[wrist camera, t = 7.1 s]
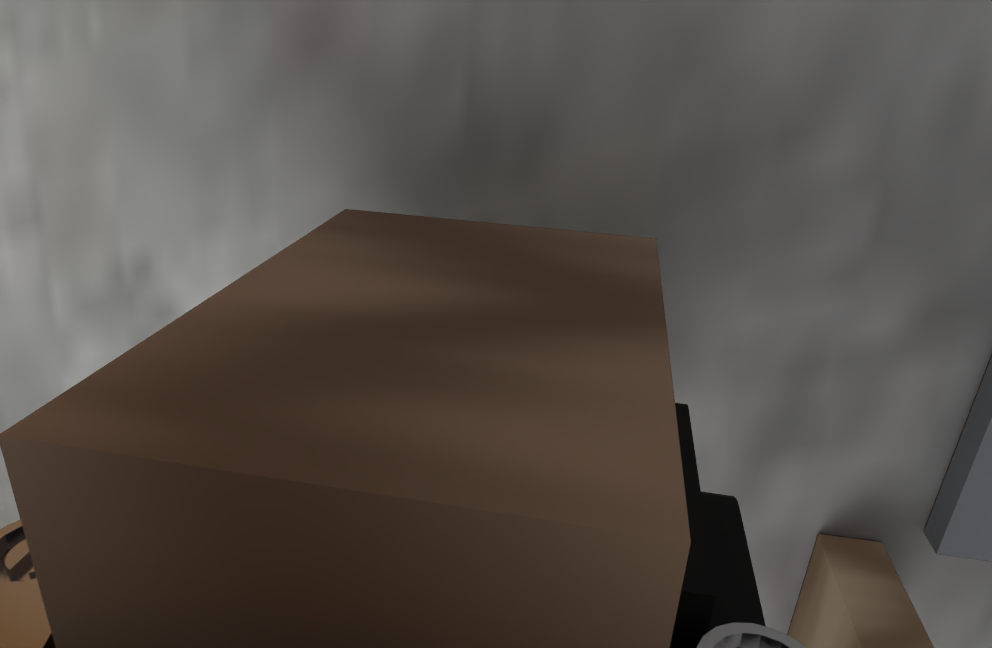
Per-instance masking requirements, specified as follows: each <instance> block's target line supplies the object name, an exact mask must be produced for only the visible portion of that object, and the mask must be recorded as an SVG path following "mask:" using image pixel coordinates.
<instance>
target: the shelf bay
mask: <svg viewBox="0 0 992 648" xmlns="http://www.w3.org/2000/svg"><path fill="white" fill-rule="evenodd" d="M788 636H790V637H792V638H794V639H795V640H796V641H798V642H799V643H800V644H802V645H803V646H805V647H806V648H934V647H933V645H932V643H931V641H930V639H929V637H928V635H927V633H926V631H925V629H924V627H923V625H922V623H921V621H920V619H919V617H918V615H917V613H916V611H915V609H914V606H913V604H912V602H911V600H910V598H909V596H908V594H907V592H906V590H905V588H904V586H903V584H902V582H901V580H900V578H899V576H898V574H897V572H896V570H895V568H894V566H893V564H892V562H891V560H890V558H889V556H888V554H887V552H886V550H885V548H884V546H883V544H882V542H876V541H868V540H861V539H853V538H846V537H838V536H831V535H824V534H818V537H817V540H816V543H815V547H814V550H813V553H812V556H811V560H810V563H809V566H808V570H807V573H806V576H805V579H804V583H803V586H802V589H801V592H800V596H799V599H798V602H797V605H796V609H795V612H794V615H793V619H792V622H791V625H790V628H789V632H788Z"/></svg>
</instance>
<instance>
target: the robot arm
mask: <svg viewBox="0 0 992 648" xmlns="http://www.w3.org/2000/svg"><path fill="white" fill-rule="evenodd" d="M675 408H676V417H677V426H678V434H679V443H680V452H681V460H682V469H683V478H684V487H685V495H686V504H687V513H688V521H689V530H690V539H691V544H690V549H689V554H688V559H687V564H686V569H685V574H684V579H683V584H682V589H681V594H680V599H679V604H678V609H677V614H676V619H675V624H674V629H673V633H672V638H671V643H670V648H806V647H805V646H803V645H802V644H800V643H799V642H798V641H796V640H795V639H794V638H792V637H790V636H788V635H786V634H784V633H781V632H779V631H777V630H775V629H773V628H769V627H766V626H765V622H764V617H763V613H762V608H761V604H760V599H759V595H758V590H757V586H756V581H755V576H754V572H753V567H752V563H751V558H750V554H749V549H748V545H747V540H746V536H745V531H744V527H743V522H742V518H741V513H740V509H739V505H738V502H737V499H736V498H735V497H734V496H727V495H721V494H714V493H707V492H701V491H700V484H699V477H698V471H697V464H696V457H695V450H694V443H693V436H692V430H691V423H690V416H689V409H688V405H687V404H680V403H675ZM0 648H56V647H55V643H54V640H53V636H52V632H51V629H50V625H49V621H48V618H47V614H46V611H45V607H44V603H43V600H42V596H41V592H40V589H39V585H38V581H37V578H36V574H35V570H34V567H33V563H32V559H31V556H30V552H29V548H28V545H27V541H26V537H25V534H24V530H23V526H22V523H21V520H18V521H16V522H14V523H12V524H9V525H7V526H5V527H3V528H2V529H0Z"/></svg>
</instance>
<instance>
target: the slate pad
mask: <svg viewBox="0 0 992 648" xmlns="http://www.w3.org/2000/svg"><path fill="white" fill-rule="evenodd" d="M924 533H925V535H926V537H927V539H928V540H929V542H930V544H931V545H932V547H933V549H934V551H935V552H936V554H940V555H947V556H955V557H962V558H970V559H977V560H985V561H992V357H991V360H990V362H989V365H988V367H987V370H986V373H985V375H984V378H983V380H982V383H981V385H980V388H979V391H978V393H977V396H976V398H975V401H974V404H973V406H972V409H971V411H970V414H969V416H968V419H967V422H966V424H965V427H964V429H963V432H962V435H961V437H960V440H959V442H958V445H957V448H956V450H955V453H954V455H953V458H952V460H951V463H950V466H949V468H948V471H947V473H946V476H945V479H944V481H943V484H942V486H941V489H940V492H939V494H938V497H937V499H936V502H935V504H934V507H933V510H932V512H931V515H930V517H929V520H928V523H927V525H926V528H925V530H924Z"/></svg>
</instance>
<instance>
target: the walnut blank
mask: <svg viewBox="0 0 992 648" xmlns="http://www.w3.org/2000/svg"><path fill="white" fill-rule="evenodd" d="M0 446H1V449H2V453H3V457H4V460H5V464H6V468H7V471H8V475H9V479H10V482H11V486H12V490H13V493H14V497H15V501H16V504H17V508H18V512H19V515H20V519H21V523H22V526H23V530H24V534H25V537H26V541H27V545H28V548H29V552H30V556H31V559H32V563H33V567H34V570H35V574H36V578H37V581H38V585H39V589H40V592H41V596H42V600H43V603H44V607H45V611H46V614H47V618H48V621H49V625H50V629H51V632H52V636H53V640H54V643H55V647H56V648H670V643H671V638H672V633H673V629H674V624H675V619H676V614H677V609H678V604H679V599H680V594H681V589H682V584H683V579H684V574H685V569H686V564H687V559H688V554H689V549H690V544H691V539H690V530H689V521H688V513H687V504H686V495H685V487H684V478H683V469H682V460H681V452H680V443H679V434H678V426H677V417H676V408H675V400H674V391H673V382H672V374H671V365H670V356H669V348H668V339H667V330H666V321H665V313H664V304H663V295H662V287H661V278H660V269H659V261H658V252H657V243H656V239H653V238H643V237H632V236H622V235H611V234H601V233H590V232H580V231H569V230H559V229H549V228H538V227H528V226H517V225H507V224H496V223H486V222H475V221H465V220H454V219H444V218H433V217H423V216H413V215H402V214H392V213H381V212H371V211H360V210H350V209H345V210H344V211H342V212H340V213H339V214H337V215H336V216H334V217H333V218H331V219H330V220H328V221H327V222H325V223H324V224H322V225H320V226H319V227H317V228H316V229H314V230H313V231H311V232H310V233H308V234H307V235H305V236H304V237H302V238H301V239H299V240H297V241H296V242H294V243H293V244H291V245H290V246H288V247H287V248H285V249H284V250H282V251H281V252H279V253H277V254H276V255H274V256H273V257H271V258H270V259H268V260H267V261H265V262H264V263H262V264H261V265H259V266H257V267H256V268H254V269H253V270H251V271H250V272H248V273H247V274H245V275H244V276H242V277H241V278H239V279H238V280H236V281H234V282H233V283H231V284H230V285H228V286H227V287H225V288H224V289H222V290H221V291H219V292H218V293H216V294H214V295H213V296H211V297H210V298H208V299H207V300H205V301H204V302H202V303H201V304H199V305H198V306H196V307H194V308H193V309H191V310H190V311H188V312H187V313H185V314H184V315H182V316H181V317H179V318H178V319H176V320H175V321H173V322H171V323H170V324H168V325H167V326H165V327H164V328H162V329H161V330H159V331H158V332H156V333H155V334H153V335H151V336H150V337H148V338H147V339H145V340H144V341H142V342H141V343H139V344H138V345H136V346H135V347H133V348H131V349H130V350H128V351H127V352H125V353H124V354H122V355H121V356H119V357H118V358H116V359H115V360H113V361H112V362H110V363H108V364H107V365H105V366H104V367H102V368H101V369H99V370H98V371H96V372H95V373H93V374H92V375H90V376H88V377H87V378H85V379H84V380H82V381H81V382H79V383H78V384H76V385H75V386H73V387H72V388H70V389H68V390H67V391H65V392H64V393H62V394H61V395H59V396H58V397H56V398H55V399H53V400H52V401H50V402H49V403H47V404H45V405H44V406H42V407H41V408H39V409H38V410H36V411H35V412H33V413H32V414H30V415H29V416H27V417H25V418H24V419H22V420H21V421H19V422H18V423H16V424H15V425H13V426H12V427H10V428H9V429H7V430H6V431H4V432H2V433H1V434H0Z"/></svg>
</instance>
